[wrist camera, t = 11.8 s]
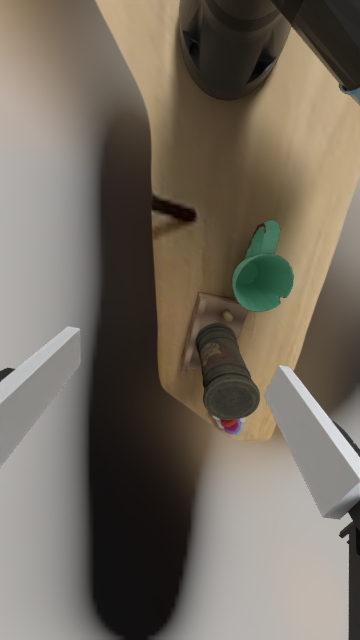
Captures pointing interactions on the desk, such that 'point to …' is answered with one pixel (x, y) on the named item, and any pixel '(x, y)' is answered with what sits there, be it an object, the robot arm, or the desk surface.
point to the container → (225, 374)
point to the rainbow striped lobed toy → (230, 425)
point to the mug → (262, 272)
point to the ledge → (207, 313)
